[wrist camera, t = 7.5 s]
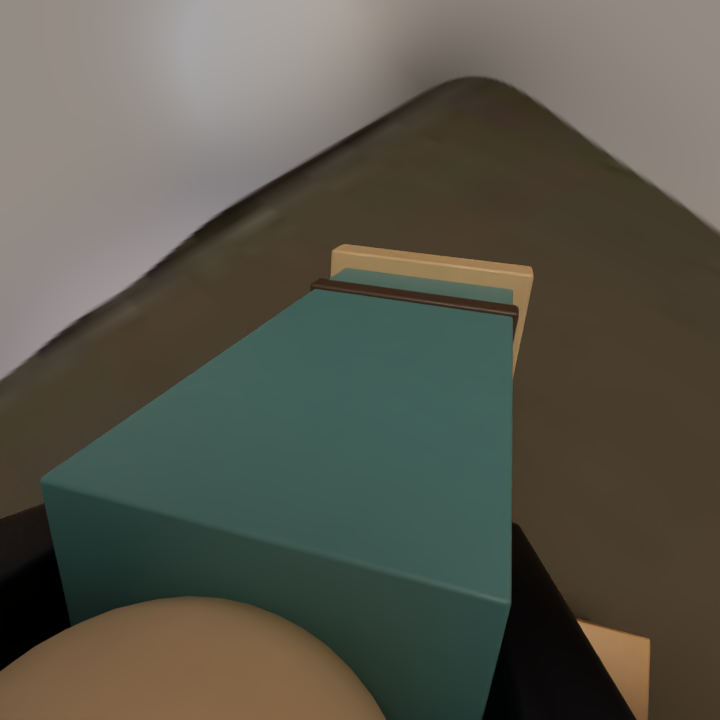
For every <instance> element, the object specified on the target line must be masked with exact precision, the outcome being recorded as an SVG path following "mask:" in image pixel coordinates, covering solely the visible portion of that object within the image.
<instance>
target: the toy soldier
mask: <svg viewBox="0 0 720 720" xmlns="http://www.w3.org/2000/svg"><path fill="white" fill-rule="evenodd" d="M533 278H534V277H533V270H532V267H530V266H521V265H513V264H505V263H496V262H488V261H480V260H472V259H463V258H455V257H447V256H438V255H430V254H422V253H414V252H405V251H397V250H389V249H380V248H372V247H364V246H355V245H347V244H343V245H341V246H339V247H338V248H336V249H334V250H333V251H332V258H331V278H330V279H329V280H328V279H318V280H317V281H315V282H314V283H312V284H311V289H310V293H308V294H307V295H305V296H304V297H302V298H301V299H300V300H298V301H297V302H295V303H294V304H292V305H291V306H289V307H288V308H286V309H285V310H284V311H282V312H281V313H279V314H278V315H276V316H275V317H273V318H272V319H270V320H269V321H268V322H266V323H265V324H263V325H262V326H260V327H259V328H257V329H256V330H255V331H253V332H252V333H250V334H249V335H247V336H246V337H244V338H243V339H241V340H240V341H239V342H237V343H236V344H234V345H233V346H231V347H230V348H228V349H227V350H225V351H224V352H223V353H221V354H220V355H218V356H217V357H215V358H214V359H212V360H211V361H209V362H208V363H207V364H205V365H204V366H202V367H201V368H199V369H198V370H196V371H195V372H194V373H192V374H191V375H189V376H188V377H186V378H185V379H183V380H182V381H180V382H179V383H178V384H176V385H175V386H173V387H172V388H170V389H169V390H167V391H166V392H164V393H163V394H162V395H160V396H159V397H157V398H156V399H154V400H153V401H151V402H150V403H148V404H147V405H146V406H144V407H143V408H141V409H140V410H138V411H137V412H135V413H134V414H133V415H131V416H130V417H128V418H127V419H125V420H124V421H122V422H121V423H119V424H118V425H117V426H115V427H114V428H112V429H111V430H109V431H108V432H106V433H105V434H103V435H102V436H101V437H99V438H98V439H96V440H95V441H93V442H92V443H90V444H89V445H88V446H86V447H85V448H83V449H82V450H80V451H79V452H77V453H76V454H74V455H73V456H72V457H70V458H69V459H67V460H66V461H64V462H63V463H61V464H60V465H58V466H57V467H56V468H54V469H53V470H51V471H50V472H48V473H47V474H45V475H44V476H42V478H41V479H40V486H41V490H42V495H43V499H44V504H45V509H46V513H47V518H48V522H49V527H50V532H51V536H52V541H53V545H54V550H55V555H56V559H57V564H58V569H59V573H60V578H61V582H62V587H63V592H64V596H65V601H66V605H67V610H68V615H69V619H70V624H71V627H70V628H68V629H66V630H64V631H62V632H60V633H58V634H57V635H55V636H53V637H51V638H49V639H47V640H46V641H44V642H42V643H40V644H38V645H37V646H35V647H33V648H32V649H31V650H29V651H28V652H26V653H25V654H24V655H22V656H21V657H19V658H18V659H17V660H15V661H14V662H12V663H11V664H10V665H8V666H7V667H5V668H4V669H3V670H1V671H0V720H482V719H483V715H484V711H485V707H486V703H487V699H488V695H489V691H490V687H491V683H492V679H493V675H494V671H495V667H496V663H497V659H498V655H499V651H500V647H501V643H502V639H503V635H504V631H505V627H506V623H507V619H508V615H509V611H510V607H511V595H512V415H513V376H514V371H515V366H516V361H517V356H518V351H519V347H520V342H521V337H522V332H523V327H524V322H525V317H526V312H527V307H528V302H529V298H530V293H531V288H532V283H533Z"/></svg>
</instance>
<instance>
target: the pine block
mask: <svg viewBox="0 0 720 720" xmlns="http://www.w3.org/2000/svg"><path fill="white" fill-rule="evenodd" d="M576 620H577V622H578V623H579V625H580V627H581V628H582V630H583V632H584V633H585V635H586V637H587V638H588V640H589V642H590V643H591V645H592V647H593V648H594V650H595V651H596V653H597V655H598V656H599V658H600V660H601V661H602V663H603V665H604V666H605V668H606V670H607V671H608V673H609V675H610V676H611V678H612V680H613V681H614V683H615V684H616V686H617V688H618V689H619V691H620V693H621V694H622V696H623V698H624V699H625V701H626V703H627V704H628V706H629V708H630V709H631V711H632V713H633V714H634V716H635V718H636V719H637V720H648V700H649V666H650V639H648V638H646V637H642V636H639V635H635V634H632V633H629V632H625V631H622V630H618V629H615V628H612V627H608V626H605V625H601V624H598V623H594V622H591V621H587V620H583V619H579V618H576Z"/></svg>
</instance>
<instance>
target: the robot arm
mask: <svg viewBox="0 0 720 720" xmlns="http://www.w3.org/2000/svg"><path fill="white" fill-rule="evenodd" d="M70 627H71V624H70V619H69V615H68V610H67V605H66V601H65V596H64V592H63V587H62V582H61V578H60V573H59V569H58V564H57V559H56V555H55V550H54V545H53V541H52V536H51V532H50V527H49V522H48V518H47V513H46V509H45V504H44V503H43V504H40V505H38V506H35V507H32V508H29V509H27V510H24V511H21V512H18V513H16V514H13V515H10V516H7V517H5V518H2V519H0V671H1V670H3V669H4V668H5V667H7V666H8V665H10V664H11V663H12V662H14V661H15V660H17V659H18V658H19V657H21V656H22V655H24V654H25V653H26V652H28V651H29V650H31V649H32V648H33V647H35V646H37V645H38V644H40V643H42V642H44V641H46V640H47V639H49V638H51V637H53V636H55V635H57V634H58V633H60V632H62V631H64V630H66V629H68V628H70ZM482 720H637V719H636V718H635V716H634V714H633V713H632V711H631V709H630V708H629V706H628V704H627V703H626V701H625V699H624V698H623V696H622V694H621V693H620V691H619V689H618V688H617V686H616V684H615V683H614V681H613V680H612V678H611V676H610V675H609V673H608V671H607V670H606V668H605V666H604V665H603V663H602V661H601V660H600V658H599V656H598V655H597V653H596V651H595V650H594V648H593V647H592V645H591V643H590V642H589V640H588V638H587V637H586V635H585V633H584V632H583V630H582V628H581V627H580V625H579V623H578V622H577V620H576V618H575V617H574V615H573V613H572V612H571V610H570V609H569V607H568V605H567V604H566V602H565V600H564V599H563V597H562V595H561V594H560V592H559V590H558V589H557V587H556V585H555V584H554V582H553V580H552V579H551V577H550V575H549V574H548V572H547V571H546V569H545V567H544V566H543V564H542V562H541V561H540V559H539V557H538V556H537V554H536V552H535V551H534V549H533V547H532V546H531V544H530V542H529V541H528V539H527V538H526V536H525V534H524V533H523V531H522V529H521V528H520V526H519V525H518V524H516V523H513V522H512V595H511V607H510V611H509V615H508V619H507V623H506V627H505V631H504V635H503V639H502V643H501V647H500V651H499V655H498V659H497V663H496V667H495V671H494V675H493V679H492V683H491V687H490V691H489V695H488V699H487V703H486V707H485V711H484V715H483V719H482Z"/></svg>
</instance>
